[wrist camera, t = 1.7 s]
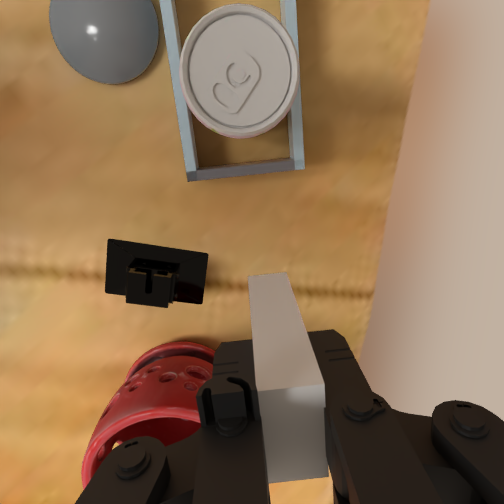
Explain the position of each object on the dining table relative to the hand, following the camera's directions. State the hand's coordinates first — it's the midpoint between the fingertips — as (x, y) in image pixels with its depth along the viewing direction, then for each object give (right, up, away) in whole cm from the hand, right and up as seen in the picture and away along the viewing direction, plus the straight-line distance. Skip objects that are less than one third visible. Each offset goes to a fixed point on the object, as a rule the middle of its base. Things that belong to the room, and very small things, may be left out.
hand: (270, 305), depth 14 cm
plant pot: (-8, -11, +25) cm, 28 cm away
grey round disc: (-12, +19, +14) cm, 27 cm away
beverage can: (-2, +15, +16) cm, 22 cm away
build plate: (-10, 0, +21) cm, 23 cm away
